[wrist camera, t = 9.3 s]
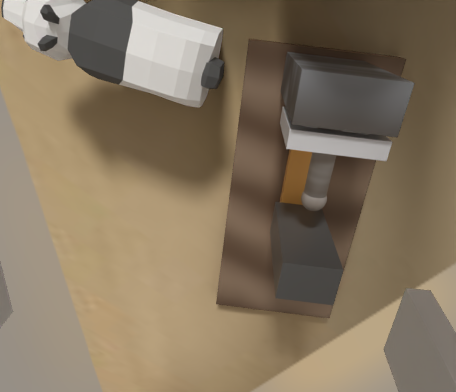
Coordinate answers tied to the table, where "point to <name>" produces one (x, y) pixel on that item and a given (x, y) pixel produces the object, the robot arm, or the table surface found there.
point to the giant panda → (125, 44)
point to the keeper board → (269, 182)
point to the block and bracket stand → (311, 213)
